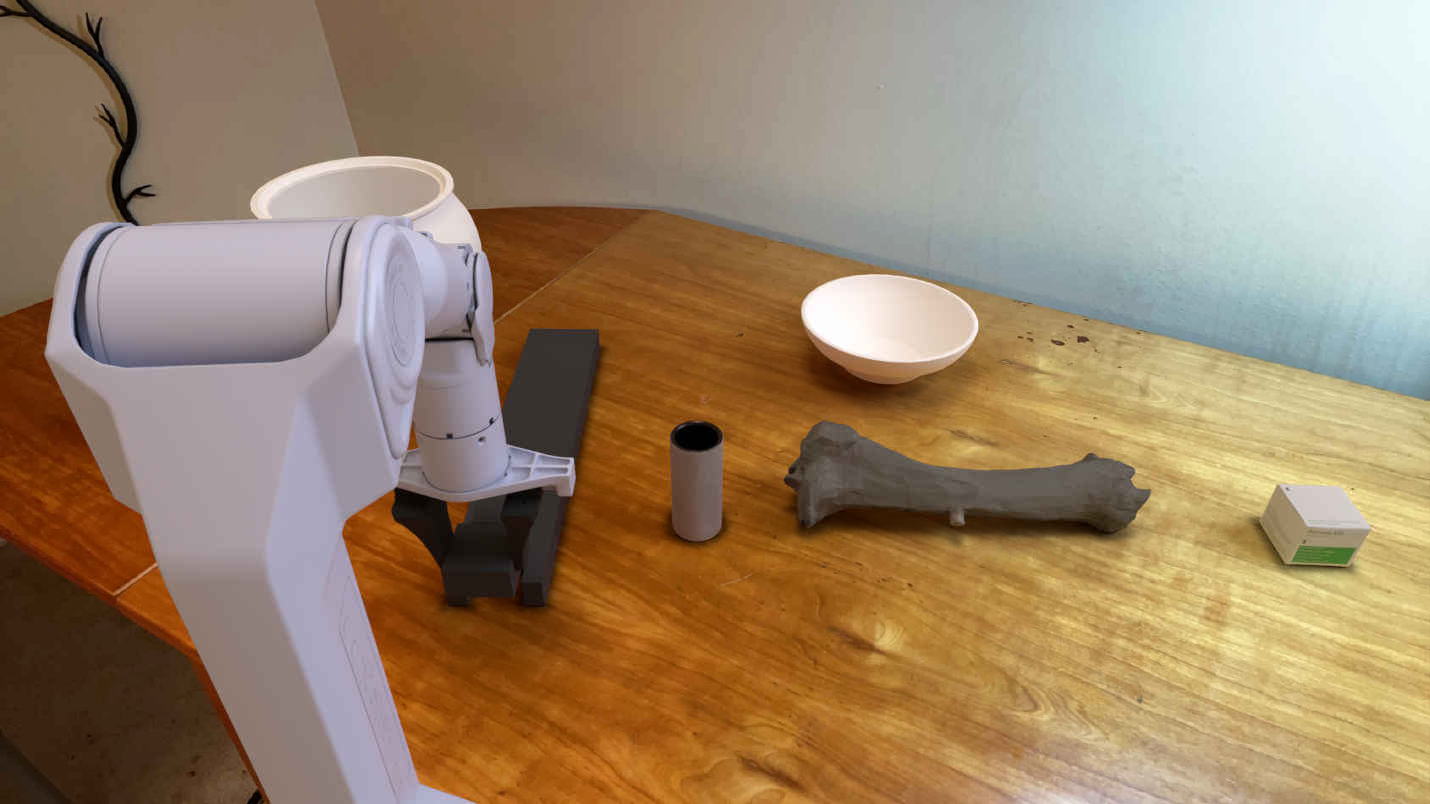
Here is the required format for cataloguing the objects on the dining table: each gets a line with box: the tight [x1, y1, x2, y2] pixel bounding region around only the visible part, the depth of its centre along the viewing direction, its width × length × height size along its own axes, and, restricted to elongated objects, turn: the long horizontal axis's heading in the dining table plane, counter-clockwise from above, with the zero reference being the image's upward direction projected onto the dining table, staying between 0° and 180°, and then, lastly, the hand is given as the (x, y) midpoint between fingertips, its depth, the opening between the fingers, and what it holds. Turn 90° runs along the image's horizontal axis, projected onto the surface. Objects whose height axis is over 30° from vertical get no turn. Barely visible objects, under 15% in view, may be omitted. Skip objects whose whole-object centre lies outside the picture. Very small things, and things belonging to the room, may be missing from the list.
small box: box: [1258, 483, 1372, 568], centre depth 80 cm, size 6×6×5 cm
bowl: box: [800, 273, 979, 385], centre depth 103 cm, size 20×20×7 cm
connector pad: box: [440, 497, 521, 599], centre depth 69 cm, size 8×5×3 cm, turn 179°
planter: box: [669, 419, 724, 542], centre depth 80 cm, size 4×4×10 cm
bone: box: [783, 420, 1152, 534], centre depth 82 cm, size 32×10×9 cm, turn 87°
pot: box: [249, 155, 483, 253], centre depth 110 cm, size 29×26×16 cm
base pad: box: [442, 328, 601, 607], centre depth 90 cm, size 40×8×3 cm, turn 179°
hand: (485, 560), depth 68 cm, fingers closed on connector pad, 5 cm apart
